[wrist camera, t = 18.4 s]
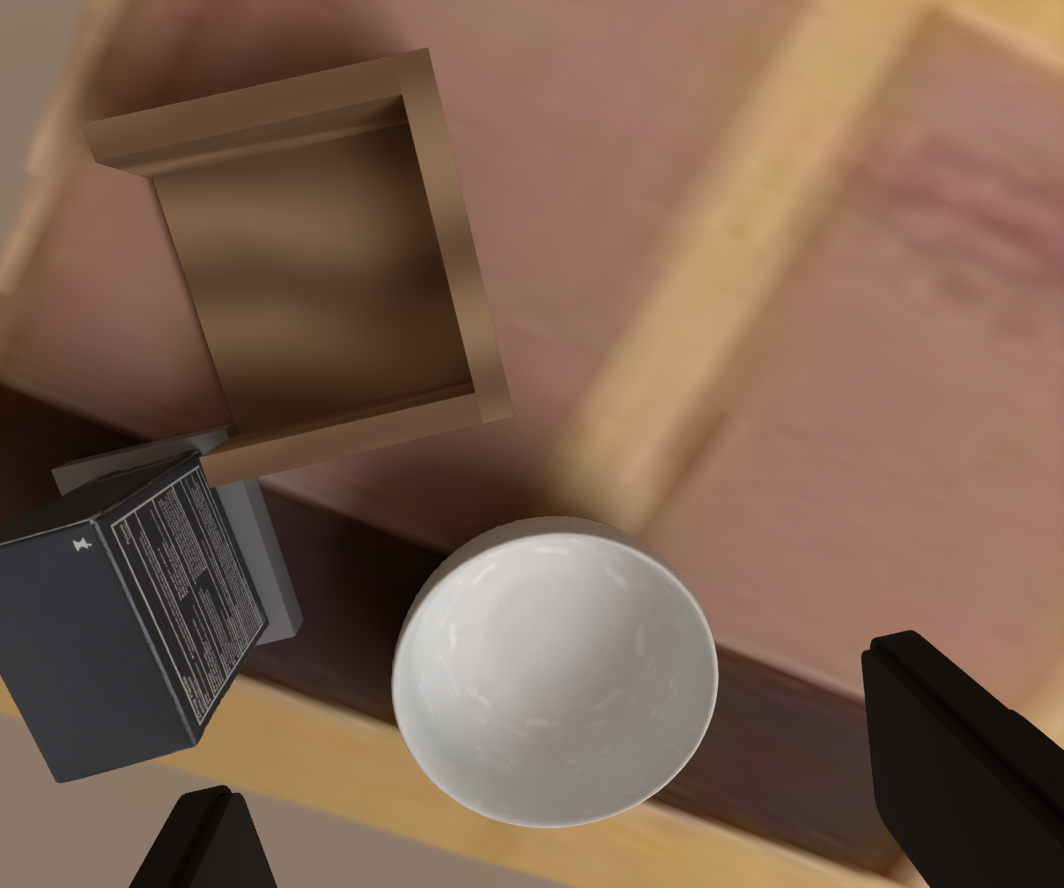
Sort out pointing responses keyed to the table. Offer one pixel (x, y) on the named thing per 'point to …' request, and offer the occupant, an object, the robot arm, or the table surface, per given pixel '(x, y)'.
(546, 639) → the cereal bowl
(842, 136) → the table surface
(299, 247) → the box
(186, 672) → the small box
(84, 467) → the slate stand
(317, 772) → the table surface
